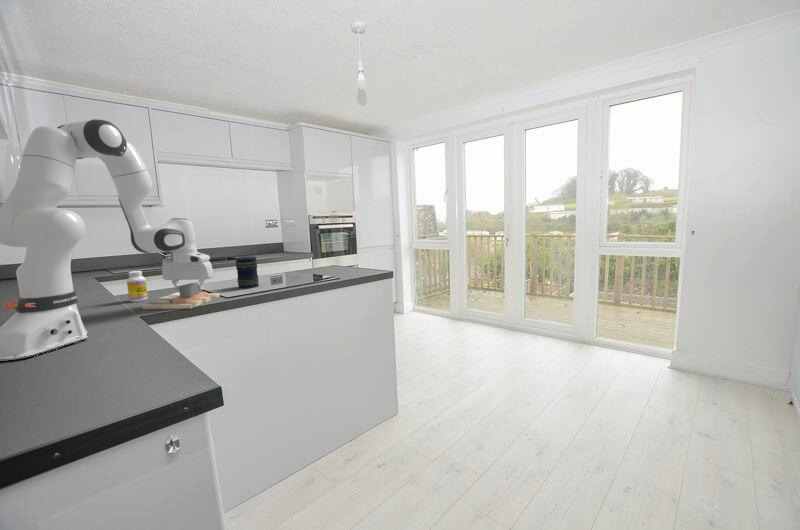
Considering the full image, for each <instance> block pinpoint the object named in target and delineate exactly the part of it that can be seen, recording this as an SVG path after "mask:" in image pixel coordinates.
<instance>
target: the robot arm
mask: <svg viewBox="0 0 800 530" xmlns="http://www.w3.org/2000/svg"><path fill="white" fill-rule="evenodd" d="M26 141H27V142H26V143H25V147H24V149H23V152H22V156H21V160H20V165H19V168H18V169H19V170H18V173H17V178H16V181H15V184H14V185H13V187H12V189H11V191H10V192H9V194H8V196H7V197H6V199H5V200H4V202H3V203H2V205H1V206H0V245H3V246H8V247H12V248H26V251H25V257H24V259H23V261H22V263H21V264H20V265H19V266H18V267H17V268H16V271H15V274H16V280H17V284H18V285H17V286H18V292H19V296H20V297H19V298H18V300H17V302H16V301H6V302H4V304H3V306H2V307H3V308H4V309H5V310H15V313H14V314H13V315H12V316H10V318H8V320H6V321H5V322H4V323H3V324H2V325H1V326H0V359H12V358H19V357H24V356H29V355H33V354H36V353H39V352H43V351H46V350H48V349H51V348H55V347H57V346H61V345H64V344H67V343H70V342H74V341H77V340H80V339H84V338H87V337H88V336H87V333H88V334H89V332H88V331H87V329H86V328H85V325H84V322H83V320H82V317H81V314H80V312H79V309H78V305H77V304H78V296H77V292H76V290H74V284H73V278H72V277H73V276H72V269H71V263H72V257H73V254H74V251H75V248H76V245H78V243H79V242H80V241H81V240H82V239H83V238H84V236H85V234H86V229H87V227H86V224H85V221H84V220H83V218H82V217H81V216H80V215H79V214H78V213H77V212H74V211H72V210H67V209H64V208H58V206H59V204H60V203H62V201H64V200H66V199H67V198H68V197H69V196H70V194H71V190H72V185H73V182H74V176H75V170H76V164H77V163H76V162H77V160H82V159H92V158H93V159H95V158H96V159H97V158H98V159H99V160H101V161H102V162H103V164H105V166H106V169H107V171H108V173H109V175H110V177H111V179H112V182H113V184H114V186H115V189H116V192H117V198H118V202H119V205H120V206H121V207H120V208H121V210H122V213H123V215H124V217H125V221H126V222H127V225H128V228H129V233H130V241H131V245H132V247H134V249H135V250H136V251H138V252H140V253H144V254H149V253H169V252H172V253H171V254H172V257H165V258H164V259H162V260H161V261H162V262H161V266H162V267H161V269H162V270H161V271H162V272H161V274H162V275H161V277H162V279H163V280H164V281H171V283H172V285H173V286H174V288H175V291H179V286H180V283H179V281H180V280H181V281H185V280H186V281H189V280H191V281H193V280H197V281H198V285H199V286H197V289H198V290H199V291H203V290H204V285H205V282H206V280H210V279H212V278H213V277H214V270H213V265H212V263H211V261H210V259H211V257H210V255H209V254H207V253H206V254H205V253H202V252H199V251H198V249H197V246H196V238H197V237H196V233H195V232H196V231H195V227H194V224H193V222H192V221H191V220H189V219H188V218H181V217H180V218H179V217H173V218H170V219H169V221H168V222H166V223H164V224H162V225H160V226H159V227H152V226H151V225H150V224H149V222H148V219H147V217H146V214H145V211H144V208H143V204H142V203H143V201H144V199H145V198H146V197H147V196H148V195H149V194H150V192H152V189H153V181H152V177H151V175H150V173H149V170H148V168H147V166H146V164H145V162H144V160H143V159H142V157H141V155H140V154H139V152H138V151H137V149H136V147H134V145H133V144H132V143H131V142H128V141H127V139H126V138H125V137H124V134H123V133H122V131H121V130H120V129H119V128H118V126H116V125H115V124H114V123H112V122H111V121H108V120H105V119H90V120H83V121H82V120H79V121H74V122H70V123H67V124H61V125H59V126H58V127H55V126H51V125H50V126H48V125H47V126H46V125H42V126H38V127H35V128H34V129H33V130H32V132H31V134H30V135H29V137H28V139H27V140H26ZM15 356H16V357H15Z"/></svg>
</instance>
